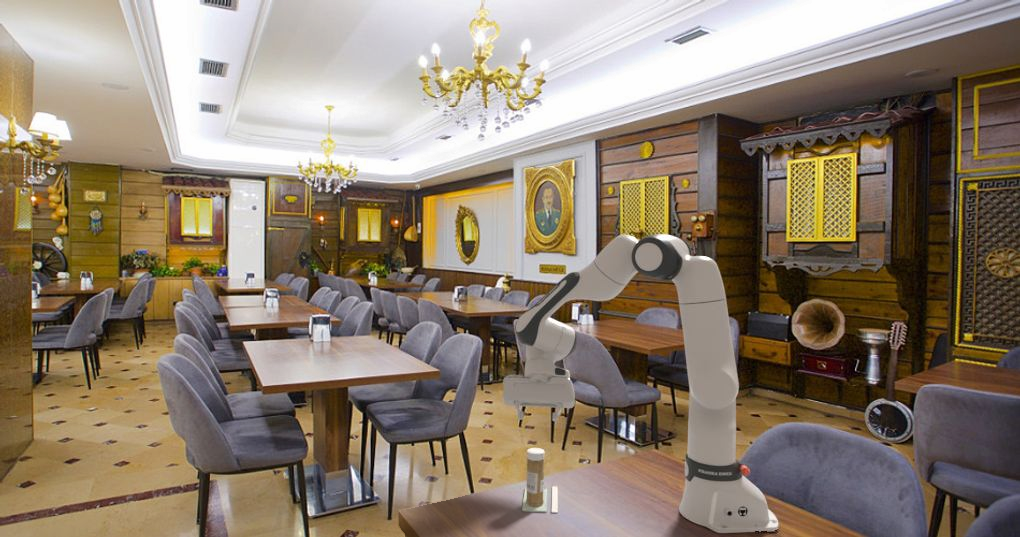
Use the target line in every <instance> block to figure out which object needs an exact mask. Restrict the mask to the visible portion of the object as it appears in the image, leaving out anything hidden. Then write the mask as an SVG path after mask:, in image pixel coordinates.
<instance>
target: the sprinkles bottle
mask: <svg viewBox="0 0 1020 537" xmlns="http://www.w3.org/2000/svg"><path fill="white" fill-rule="evenodd" d="M545 454H546V452H545V450H544V449H543V448H540V447H531V448H527V450H526V460H527V461H526V486H525V488H526V489H527V499H526V503H527V504H529V505H531V506H540V505H542V504H543V503H544V500H543V490H544V489H545V488H544V486H545V483H544V482H545V478H544V477H545V475H544V474H545V472H544V470H545V469H544V468H545V467H544V464H545V463H544V462H545V458H546V457H545V456H546V455H545Z"/></svg>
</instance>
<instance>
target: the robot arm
mask: <svg viewBox="0 0 1020 537" xmlns="http://www.w3.org/2000/svg"><path fill="white" fill-rule="evenodd" d="M638 273H639V274H641V275H642V276H645V277H647V278H649V279H654V280H660V281H665V282H670V281H671V282H673V283H674V286H675V288H676V292H677V297H678V298H677V299H678V306H679V312H680V314H679V315H680V320H681V328H682V333H683V343H684V345H683V346H684V354H685V355H684V356H685V362H686V371H687V379H688V386H689V387H688V388H689V397H688V398H689V399H688V422H687V423H688V424H687V426H688V427H687V428H688V429H687V453H685V459H684V477H685V481H684V482H685V483H684V490H683V494H682V498H681V501H680V504H679V507H678V511H679V513H680V514H681V515H682V517H683V518H685V519H687V520H688V521H690V522H692V523H694V524H697V525H699V526H702V527H705V528H708V529H710V530H711V531H713V532H715V533H718V534H734V533H736V534H737V533H756V532H755V531H759V533H761V531H767V532H776V531H775V530H777V529H778V530H779V528H780V527H779V520H778V518H777V516H776V514H774V513H773V512H772V510H770V509H769V507H768V502H767V500H766V497H765V495H764V493H763V492H762V491H761V490H760V489H759V488H758V487H757V486H756V485H755V484H754V483H753V482H751V481H750V480H749V479H748V478H747V477H748V476H749V475H751V469H750V467H748V466H747V465H746V464H743V462H741V461H740V460H739V459H737V458H736V446H737V444H736V442H737V440H736V439H737V438H736V437H737V396H738V394H739V388H740V383H739V377H738V376H739V375H738V370H737V364H736V357H735V351H734V344H733V337H732V331H731V324H730V318H729V310H728V304H727V303H728V302H727V296H726V290H725V286H724V282H723V279H722V275H721V271H720V269H719V266H718V264H717V262H716V261H715V260H714V259H713V258H711V257H708V256H704V255H695V256H693V251H692V248H691V246H690V244H689V243H688V242H687V240H685V239H683V238H682V237H680V236H678V235H670V234H667V233H659V234H650V235H646V236H644V237H642V238H641V239H639V240H638V238H636V237H634V236H632V235H629V234H624V233H623V234H619V235H617V236H615V237H614V238H613V239H612V240H611V241H610V242H609V243H608V244H607V245H606V246H605V247H603V249H602V250H601V251H600V252H599V253H598V254H597V255H596V257H594V259H593V261H591V263H589V264H588V265H587V266H585V267H584V268H581V270H577V271H572V272H570V273H568V274H567V275H565V276H564V277H563V278H562V279H560V280H559V281H558V282H557V283H556V284H555V285H554V286H553V287H552V288H550V290H548V292H546V293H545V295H543V296H542V297H541V298H540V299H539V300H538V301H537V302H536V303H535V304H533V305H532V306H531V307H530V308H529V309H527V310H526V311H524V312H523V313H522V314H520V316H519V317H518V319H517V321H516V323H515V325H514V326H515V328H514V331H515V335H516V337H517V339H518V341H519V343H520V344H523V345H525V346H526V348H525V357H526V358H525V359H526V361H525V364H524V374H508V375H506V376H505V377H504V378H503V381H502V387H503V390H502V403H503V405H504V406H511V407H512V406H513V407H514V410H515V412H516V413H517V420H524V416H525V415H524V411H523V410H522V411H521V409H520V408H521V407H530V408H531V407H532V408H533V407H535V408H537V407H538V408H556V411H555V412H552V421H553V422H558V421H559V420H558V419H559V416H560V414H561V413H562V412H563V409H564V408H565V409H572V408H573V407H574V406H576V405H575V404H576V403H575V402H576V397H575V387H574V384H573V381H572V380H571V373H570V370H568V369H566V368H563V367H560V366H557V365H556V362H560V361H562V360H564V359H566V358H568V357H570V356H571V355H572V354H573V353H575V351H576V348H577V345H578V336H577V331H576V330H575V328H574V327H572V326H570V325H568V324H566V323H564V322H561V321H558V320H557V319H555V318H552V315H553V314H554V313H555V312H556V311H557V310H559V309H560V308H561V307H562V306H563V305H564V304H565V303H567V302H569V301H573V300H585V301H586V300H587V301H594V302H595V301H596V302H605V301H606V302H607V301H610V300H613V299H615V298H616V297H617V296H618V295H619V294H620V293H622V291H623V290H624V288H626V287H627V285H628V284H629V283H630V281H632V279H633V278H634V277H635V276H636V274H638ZM778 527H779V528H778ZM778 530H777V531H778Z"/></svg>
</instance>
